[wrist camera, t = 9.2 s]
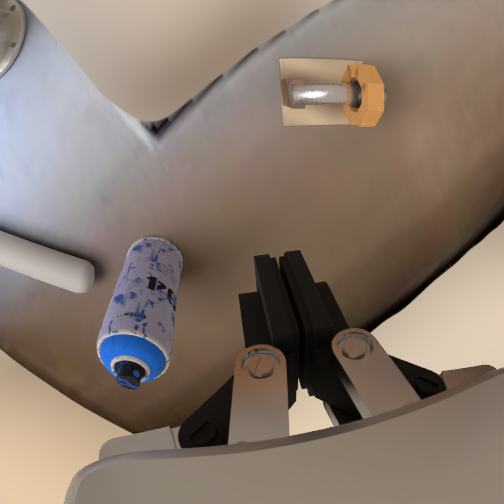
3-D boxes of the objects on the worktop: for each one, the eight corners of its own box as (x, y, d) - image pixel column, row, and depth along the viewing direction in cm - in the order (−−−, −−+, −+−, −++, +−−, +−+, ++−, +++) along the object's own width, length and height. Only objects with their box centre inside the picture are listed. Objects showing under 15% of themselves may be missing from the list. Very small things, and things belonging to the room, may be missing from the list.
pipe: (287, 79, 28) (294, 79, 26) (374, 82, 29) (388, 83, 27) (288, 107, 30) (295, 110, 27) (375, 107, 31) (388, 110, 28)
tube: (94, 268, 37) (-46, 217, 29) (86, 305, 37) (-49, 251, 30) (102, 257, 42) (-28, 212, 34) (95, 291, 43) (-32, 244, 35)
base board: (278, 58, 30) (290, 55, 25) (361, 61, 31) (383, 60, 26) (282, 125, 34) (294, 133, 30) (362, 123, 35) (383, 131, 30)
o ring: (340, 64, 30) (367, 63, 24) (355, 65, 30) (383, 65, 24) (342, 120, 33) (367, 130, 27) (356, 120, 33) (383, 130, 27)
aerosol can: (194, 265, 43) (189, 389, 26) (154, 293, 44) (133, 413, 27) (155, 224, 39) (121, 341, 22) (115, 257, 41) (70, 373, 23)
